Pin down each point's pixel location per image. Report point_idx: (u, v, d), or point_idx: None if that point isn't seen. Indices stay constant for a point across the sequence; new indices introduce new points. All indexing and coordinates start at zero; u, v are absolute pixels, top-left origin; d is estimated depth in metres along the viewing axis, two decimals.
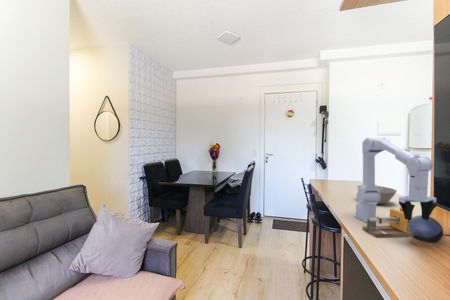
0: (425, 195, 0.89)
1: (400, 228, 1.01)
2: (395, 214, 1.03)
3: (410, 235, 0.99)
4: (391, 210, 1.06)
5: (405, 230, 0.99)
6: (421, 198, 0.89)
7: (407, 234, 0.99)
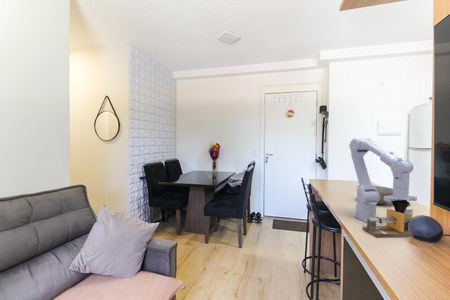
0: (406, 194, 1.00)
1: (397, 228, 1.01)
2: (392, 214, 1.03)
3: (410, 235, 0.99)
4: (388, 210, 1.06)
5: (402, 230, 0.99)
6: (403, 197, 1.00)
7: (407, 234, 0.99)
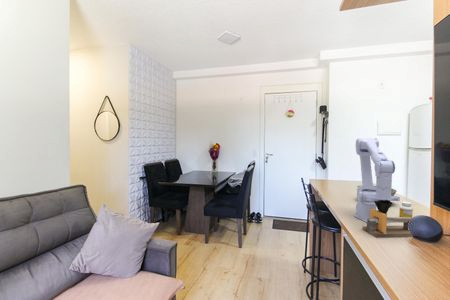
0: (389, 195, 0.99)
1: (379, 228, 1.00)
2: (375, 214, 1.03)
3: (410, 235, 0.99)
4: (371, 210, 1.05)
5: (384, 230, 0.98)
6: (385, 197, 0.99)
7: (407, 234, 0.99)
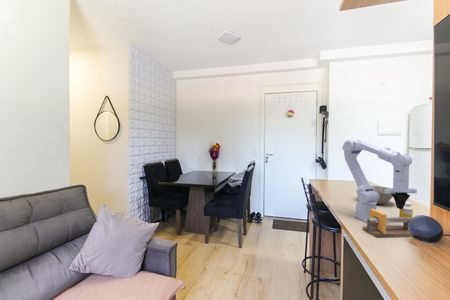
0: (406, 187, 1.02)
1: (379, 228, 1.00)
2: (374, 214, 1.03)
3: (410, 235, 0.99)
4: (371, 210, 1.05)
5: (384, 230, 0.98)
6: (403, 189, 1.02)
7: (407, 234, 0.99)
